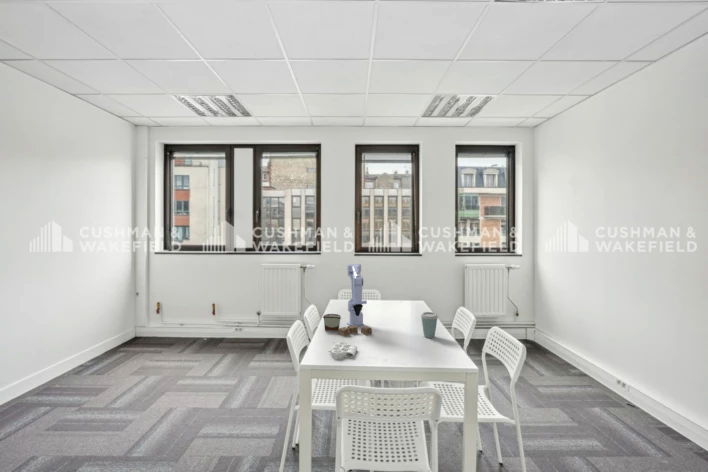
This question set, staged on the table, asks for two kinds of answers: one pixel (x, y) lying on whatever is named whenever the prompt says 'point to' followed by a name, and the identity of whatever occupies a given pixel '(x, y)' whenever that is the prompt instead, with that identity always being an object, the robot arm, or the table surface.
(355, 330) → the plain block
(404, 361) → the table surface
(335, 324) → the food container
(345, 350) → the grey egg carton
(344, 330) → the block two
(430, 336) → the disposable coffee cup
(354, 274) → the robot arm
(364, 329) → the block one
